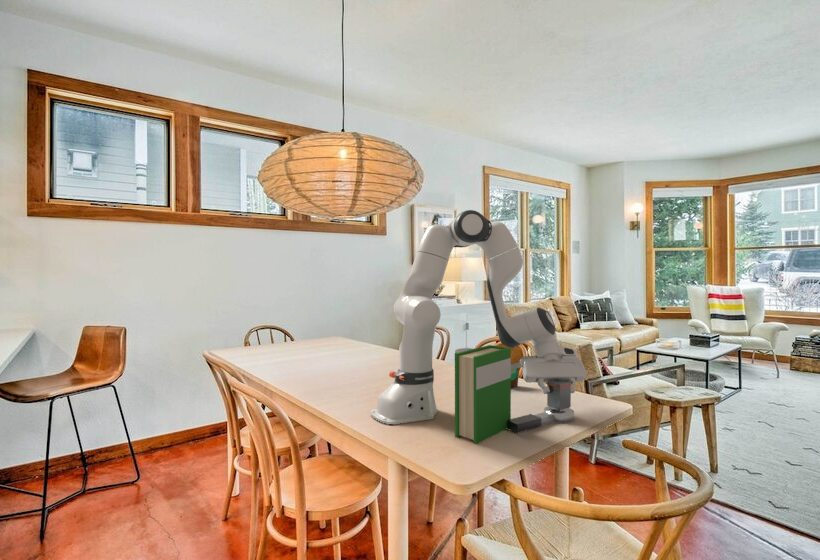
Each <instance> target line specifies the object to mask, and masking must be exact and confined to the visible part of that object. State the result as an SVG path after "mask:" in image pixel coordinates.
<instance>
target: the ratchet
mask: <svg viewBox="0 0 820 560" xmlns="http://www.w3.org/2000/svg"><path fill="white" fill-rule="evenodd" d="M543 409H544V411H543V412H540V413H536V414H531V413H529V414H525V415H521V416H518V417H513V418H511V419H510V420H507V429H506V430H509V431H511V432H514V433H515V434H520V433H523V432H527V431H529V430H530V431H531V430H535V429H537V428H541V427H543V426H546V425H551V424H553V423H559V424H568V423H569V422H570V423H572V422H574V421H575V410H574V409H572V408H571V407H570V408H566V409H562V410H558V409H555V408H553V407H550V406H545V407H544V408H543ZM570 423H569V424H570Z"/></svg>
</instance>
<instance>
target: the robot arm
mask: <svg viewBox="0 0 820 560" xmlns="http://www.w3.org/2000/svg"><path fill="white" fill-rule="evenodd" d="M473 245H478V246H479V248H481V249H482V251H483V252H484V254H485V257H486V259H487V262H488V265H489V275H488V276H487V277H486V285H487V286H486V288H487V291H488V296H489V301H490V304H491V308H492V313H493V316H494V320H495V326H496V331H497V337H498V339H499V342H500V343H501V345H503V346H504V347H507V348H511V349H515V348H517V347H519V346H522V344H525V343H528V342H531V343H532V345H533V353H534V355H523V356H522V357H520V359H519V362H520V365H521V368H522V377H523V380H524V382H526V384H527V383H529V384H531V383H537V385H538V387H540V389H541V390H542V391H543V394H545V395H547V394H549V393H550V390H549V387H547V385H546V384H545V383H547V381H550V380H554V379H561V380H564V381H568V382H571V390H570V391H571V394H575V392H576V389H575V386H576V382H578V383H579V382H581V383H583V382H584V380H586V377H587V371H586V367H585V366H584V363H583V361H582V360H581V359H580V357H578V352H577V350H576V349H574V348H569V347H566V346H562V345H560V342H559V341H558V340H557V339H558V338H557V334H556V329H557V328H556V325H555V323H554V319H553V317H552V315H551V314H550V312H549V311H548V310H546V309H544V308H541V307H534V308H532V309H529V310H526V311H524V312H522V313H519V314H516V315H514V316H510V317H509V316H508V313H507V309H506V305H505V302H504V298H503V292H504V289H505V288H506V286H507V285H509V283H510V282H511V281H512V280H513V279H514V278H516V277H517V275H519V273H520V272H521V271H522V269H523V265H524V260H523V256H522V252H521V249H520V247H518V246H519V245H518V244H517V241H516V239H515V238H514V236H513V234H512V233H511V232H510V230H509V228H508V227H507V226H506V224H505V223H504V222H501V221H493V222H491V221H490V220H488V219H487V218H486V217H485V216H484V215H483V214H482V213H480V212H479V211H477V210H473V209H468V210H464V211H461V212H460V213H459V214H457V215H456V217H454V218H452V220H451V221H450V223H449V224H448V225H443V224H440V223H439V224H436V223H435V224H431V225H430V226H428V227H427V228H426V230H425V231H424V233H423V236H422V237H421V240H420V243H419V245H418V248H417V250H416V253H415V257H414V260H413V262H412V263H413V264H412V266H411V268H410V269H411V270H410V272H409V275H408V277H407V280H406V281H405V283H404V285H403V287H402V289H401V291H400V294H399V296H398V297H397V299H396V300H395V302H394V304H393V309H392V311H393V314H394V316H395V319H396V320H397V321H398V322H399V323H400V324H402V325H403V332H402V337H401V342H400V344H399V346H398V348H399V349H398V351H399V352H398V356H399V357H398V358H399V363H398V365H399V368H398V370H397V372H396V371H394V370H390V371H389V373H388V376H389V377H390V378H393V379H394V381H393V383H391V384H390V385H389V386H388V387H387V388H386V389H385V390H384V391H382V392H381V393H380V394H379V396H378V398H377V405H376V406H377V407H376V408H374V409H371V410H370V413H371V415H370V417H371V418H372V417H373V418H372V419H374V418H375V419H376V420H375V419H374V420H375V421H377V420H378V421H377V422H379V421H380V422H379V423H381V422H383V423H382V424H384V423H386V424H385V425H389V424H393V425H400V423H401V424H407V423H413V422H414V423H415V422H421V421H422V422H423V421H428V420H434V419H435V415H436V414H437V413H438V409H437V403H436V400H435V394H434V381H435V380H434V379H435V377H434V376H435V375H434V372H435V371H434V368H433V344H434V338H435V334H436V330H437V325H438V324H439V322H440V320H441V317H442V316H441V310H440V307H439V305H438V304H437V303H436V302H435V301H434V300H433V299H432V298H433V297H434V294H435V293H436V291H437V289H438V288H439V287H440V286H441V284H443V283H442V282H443V280H444V276H445V272H446V270H447V267H448V263H449V260H450V257H451V253H452V251H453V249H454V248H467V247H470V246H473Z"/></svg>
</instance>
